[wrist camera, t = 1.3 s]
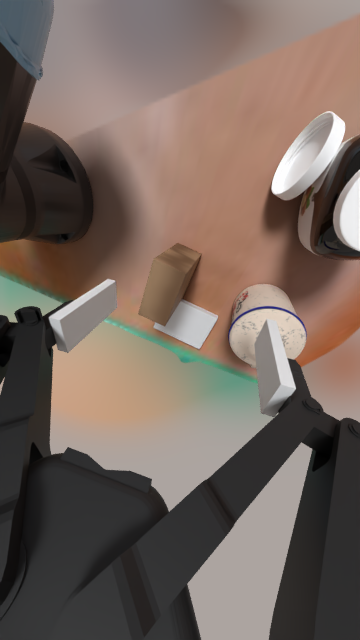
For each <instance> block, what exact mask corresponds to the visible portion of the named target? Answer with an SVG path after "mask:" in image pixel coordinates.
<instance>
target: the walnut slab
mask: <svg viewBox="0 0 360 640" xmlns="http://www.w3.org/2000/svg"><path fill="white" fill-rule="evenodd" d="M200 256H201V253H199V252H197V251H194V250H192V249H190V248H188V247H186V246H184V245H181V244H179V243H177V244H176V245H174V246H173V247H171V248H170V249H168V250H167V251H165V252H164V253H162V254H161V255H159V256H157V257H156V258H154V260H153V263H152V267H151V270H150V274H149V277H148V281H147V284H146V288H145V292H144V295H143V299H142V302H141V306H140V309H139V313H138V314H139V315H141V316H143V317H146V318H148V319H150V320H152V321H154V322H156V323H158V324H160V325H162V326H164V327H165V326H166V324H167V323H168V321H169V319H170V318H171V316H172V314H173V313H174V311H175V310H176V308H177V306H178V305H179V303H180V301H181V300H182V298H183V297H184V294H185V292H186V289H187V287H188V285H189V282H190V280H191V278H192V275H193V273H194V271H195V268H196V266H197V263H198V261H199V259H200Z"/></svg>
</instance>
